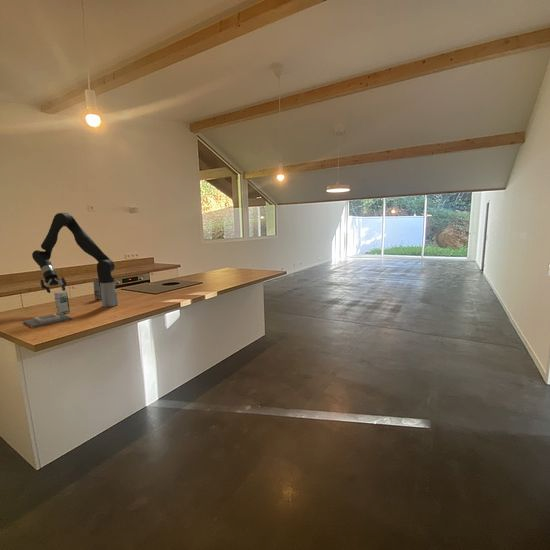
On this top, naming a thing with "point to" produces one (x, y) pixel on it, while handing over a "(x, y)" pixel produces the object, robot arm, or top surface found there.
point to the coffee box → (97, 289)
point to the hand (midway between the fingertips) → (57, 291)
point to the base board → (46, 319)
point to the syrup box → (62, 302)
